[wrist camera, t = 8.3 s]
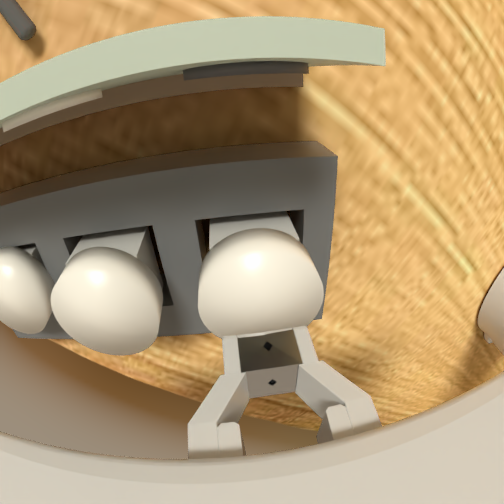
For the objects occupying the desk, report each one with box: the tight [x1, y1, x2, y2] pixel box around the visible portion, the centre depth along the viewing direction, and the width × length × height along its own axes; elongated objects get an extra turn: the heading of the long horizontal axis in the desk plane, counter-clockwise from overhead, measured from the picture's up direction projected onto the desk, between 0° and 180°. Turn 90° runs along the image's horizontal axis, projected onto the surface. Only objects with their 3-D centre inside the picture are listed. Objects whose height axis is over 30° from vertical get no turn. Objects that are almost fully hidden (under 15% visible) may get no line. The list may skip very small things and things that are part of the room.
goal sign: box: [0, 16, 386, 146], centre depth 8 cm, size 20×3×8 cm, turn 93°
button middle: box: [51, 226, 163, 355], centre depth 14 cm, size 5×5×4 cm
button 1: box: [0, 243, 55, 334], centre depth 14 cm, size 5×5×4 cm
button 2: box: [198, 211, 324, 340], centre depth 14 cm, size 5×5×4 cm
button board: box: [0, 141, 338, 339], centre depth 16 cm, size 22×10×3 cm, turn 93°
